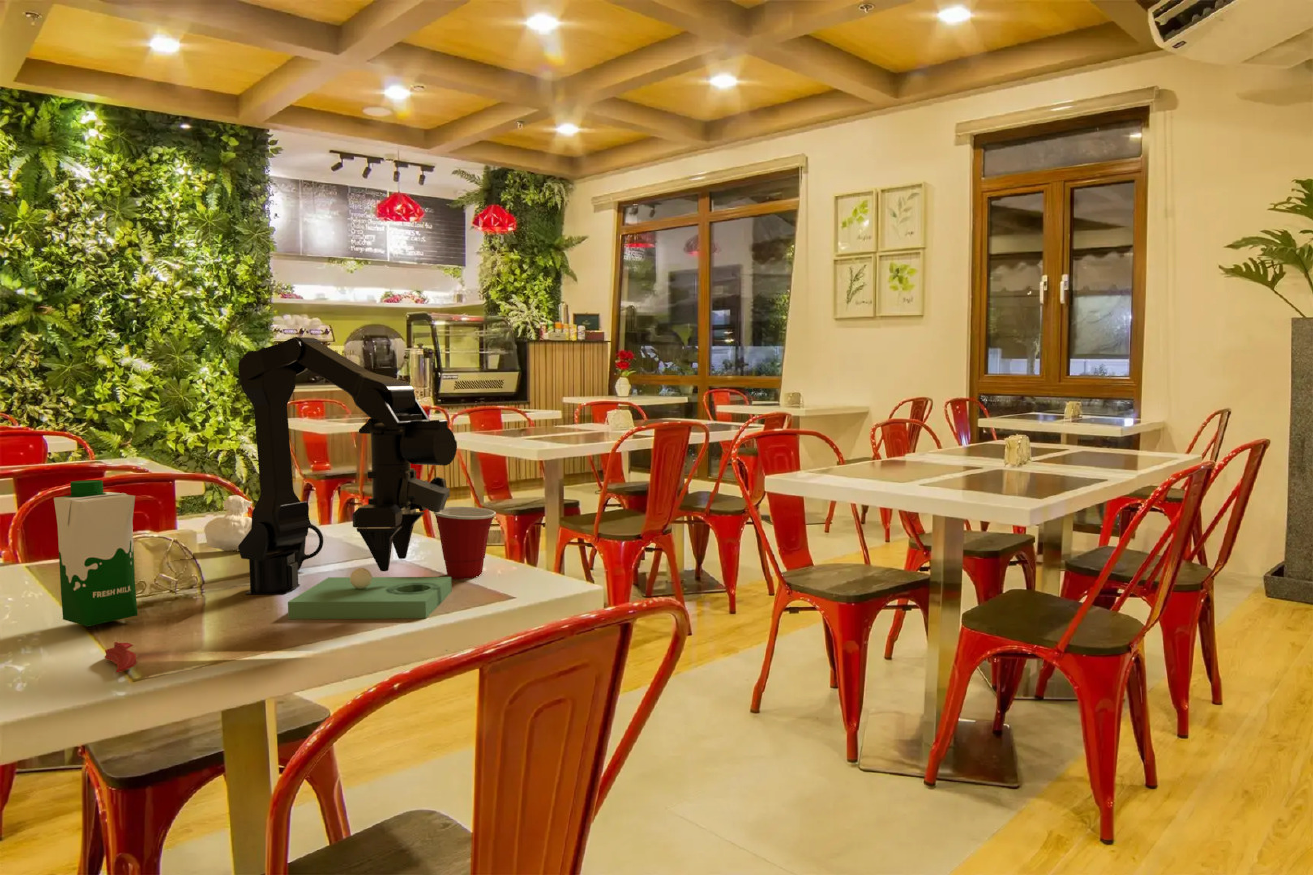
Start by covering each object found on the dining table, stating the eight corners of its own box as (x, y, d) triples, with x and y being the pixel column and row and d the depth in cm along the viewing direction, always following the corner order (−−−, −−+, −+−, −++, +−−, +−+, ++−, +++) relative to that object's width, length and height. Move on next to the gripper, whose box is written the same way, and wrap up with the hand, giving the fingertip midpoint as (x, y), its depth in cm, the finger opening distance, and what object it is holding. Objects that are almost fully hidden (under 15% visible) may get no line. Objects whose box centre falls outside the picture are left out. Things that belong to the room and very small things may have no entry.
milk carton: (115, 607, 136) (109, 477, 135) (147, 615, 132) (142, 481, 130) (52, 620, 129) (45, 483, 128) (84, 629, 124) (77, 487, 123)
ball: (347, 591, 135) (346, 570, 135) (354, 586, 139) (353, 565, 138) (368, 591, 135) (367, 570, 135) (374, 586, 139) (374, 565, 138)
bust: (194, 554, 178) (192, 498, 177) (213, 547, 185) (211, 493, 185) (255, 553, 178) (253, 497, 177) (271, 546, 186) (269, 493, 185)
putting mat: (288, 618, 129) (287, 601, 129) (329, 592, 145) (328, 577, 145) (425, 618, 129) (425, 601, 129) (451, 591, 145) (451, 576, 145)
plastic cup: (491, 583, 151) (489, 513, 150) (427, 584, 151) (425, 514, 150) (502, 570, 162) (501, 504, 161) (442, 570, 162) (441, 504, 161)
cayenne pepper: (113, 647, 118) (112, 633, 117) (152, 643, 119) (151, 629, 119) (86, 675, 106) (85, 660, 106) (129, 671, 108) (128, 655, 107)
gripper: (428, 469, 126) (430, 577, 127) (457, 457, 145) (459, 552, 146) (349, 469, 126) (352, 578, 127) (389, 458, 145) (391, 552, 146)
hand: (393, 564), depth 137 cm, fingers open, 9 cm apart
